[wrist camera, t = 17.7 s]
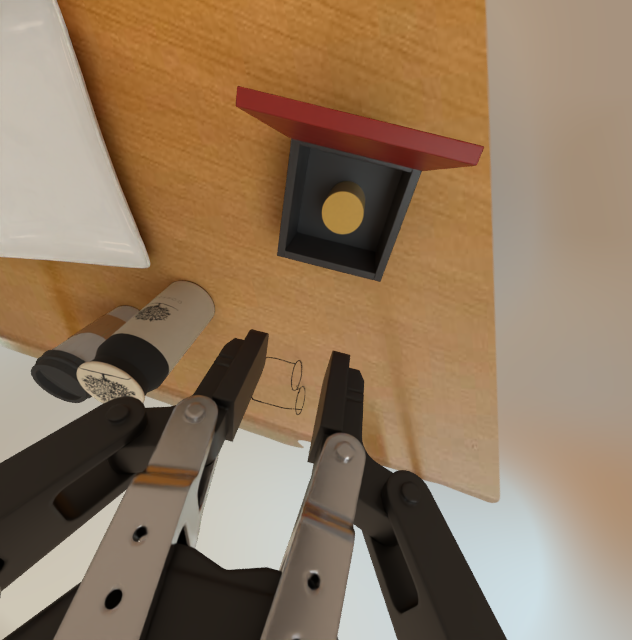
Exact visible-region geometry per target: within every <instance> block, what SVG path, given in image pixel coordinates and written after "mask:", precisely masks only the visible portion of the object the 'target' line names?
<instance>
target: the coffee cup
mask: <svg viewBox="0 0 632 640" xmlns="http://www.w3.org/2000/svg"><path fill="white" fill-rule="evenodd" d="M138 312H139V310H138V309H136V308H134V307H130V306H120V307H117V308H115V309H114V310H112V311H111V312H109V313H108V314H105V315H104V316H102V317H101V318H99V319H97V320H96V321H94V322H93V323H91V324H90V325H88V326H87V327H85V328H83V329H82V330H80V331H79V332H77V333H76V334H74V335H73V336H71V337H70V338H68V340H66V341H65V342H63V343H62V344H60V345H58V346H57V347H55V348H54V349H52V350H48V351H46V352H45V353H44V354H43V355H42V356H41V357H40V358H38V359H37V361H36V364H35V366H33V367H32V369H31V375H32V376H33V379H34V380H35V381H36V383H37V384H38V385H39V386H40V387H41V388H43V389H44V390H45V391H47V392H48V393H50V394H51V395H53V396H55V397H57V398H59V399H61V400H64V401H67V402H72V403H80V402H82V401H84V400H86V399H87V398H90V397H92V396H91V395H90V394H89V393H88V392H87V391H86V390H85V389H84V388H83V387H82V386H81V384H80V383H79V381H78V379H77V369H78V367H79V366H80V365H82V364H83V363H86V362H90V361H92V360H93V359H94V358H95V355H96V351H97V348H98V347H99V346H100V345H101V344H102V343H103V342H104V341H105V340H107V339H108V338H109V337H110V336H111V335H112V334H114V333H115V332H116V331H117V330H118V329H119V328H121V327H122V326H123V325H124V324H125V323H126V322H128V321H129V320H130V319H131V318H132V317H133V316H134V315H136V314H137V313H138Z"/></svg>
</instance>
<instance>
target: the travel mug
mask: <svg viewBox="0 0 632 640" xmlns="http://www.w3.org/2000/svg"><path fill="white" fill-rule="evenodd" d="M214 313H215V307H214V303H213V301H212V299H211V297H210V296H209V295H208V294H207V292H206V291H204V290H203V289H202V288H201V287H199V286H198V285H196V284H194V283H191V282H187V281H177V282H174V283H172V284H170V285H169V286H168V287H167V288H166V289H165V290H163V291H162V292H161V293H160V294H159V295H158V296H157V297H155V298H154V299H153V300H152V301H151V302H150V303H148V304H147V305H146V306H145V307H144V308H143V309H141V310H140V311H139V312H138V313H137V314H136V315H134V316H133V317H132V318H131V319H130V320H129V321H128V322H126V323H125V324H124V325H123V326H122V327H121V328H119V329H118V330H117V331H116V332H115V333H114V334H112V335H111V336H110V337H109V338H108V339H107V340H105V341H104V342H103V343H102V344H101V345H100V346H99V347H98V348H97V351H96V355H95V358H94V359H93V360H92V361H90V362H86V363H83V364H82V365H80V366H79V367H78V369H77V379H78V381H79V383H80V384H81V386H82V387H83V388H84V389H85V390H86V391H87V392H88V393H89V394H90V395H91V396H92V397H94V398H95V399H97V400H98V401H100V402H102V403H106V402H107V401H109V400H112V399H114V398H118V397H126V396H128V397H134V398H137V399H139V400H140V401H141V402H142V403H143V402H144V400H145V395H146V393H147V392H150V391H152V390H154V389H156V388H158V387H159V386H160V385H161V384H162V382H163V381H164V380H165V378H166V377H167V376H168V375H169V373H170V372H171V371H172V369H173V368H174V367H175V366H176V364H177V363H178V362H179V360H180V359H181V358H182V356H183V355H184V354H185V353H186V351H187V350H188V349H189V347H190V346H191V345H192V344H193V342H194V341H195V340H196V338H197V337H198V336H199V335H200V333H201V332H202V331H203V329H204V328H205V327H206V326H207V324H208V323H209V322H210V320H211V319H212V318H213V316H214Z"/></svg>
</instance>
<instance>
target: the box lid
mask: <svg viewBox="0 0 632 640" xmlns="http://www.w3.org/2000/svg"><path fill="white" fill-rule="evenodd" d="M236 107H238V108H240V109H241V110H243V111H245V112H246V113H248V114H250V115H252V116H253V117H255V118H257V119H258V120H260V121H262V122H264V123H265V124H267V125H269V126H270V127H272V128H274V129H275V130H277V131H279V132H281V133H282V134H284V135H286V136H287V137H289V138H291V139H295V140H299V141H303V142H307V143H311V144H315V145H319V146H323V147H327V148H331V149H335V150H339V151H343V152H348V153H352V154H356V155H360V156H364V157H368V158H372V159H376V160H380V161H384V162H388V163H392V164H396V165H400V166H404V167H408V168H412V169H416V170H420V171H428V170H437V169H447V168H457V167H467V166H476V165H477V163H478V161H479V158H480V156H481V154H482V151H483V149H484V147H483V146H480V145H476V144H472V143H468V142H464V141H460V140H456V139H452V138H448V137H444V136H440V135H436V134H432V133H427V132H423V131H419V130H415V129H411V128H407V127H403V126H399V125H395V124H391V123H387V122H383V121H379V120H375V119H370V118H366V117H362V116H358V115H354V114H350V113H346V112H342V111H338V110H334V109H330V108H326V107H322V106H317V105H313V104H309V103H305V102H301V101H297V100H293V99H289V98H285V97H281V96H277V95H273V94H269V93H265V92H260V91H256V90H252V89H248V88H244V87H240V86H237V96H236Z"/></svg>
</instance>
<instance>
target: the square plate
mask: <svg viewBox="0 0 632 640" xmlns="http://www.w3.org/2000/svg"><path fill="white" fill-rule="evenodd" d="M0 257H10V258H26V259H39V260H52V261H64V262H75V263H86V264H97V265H106V266H118V267H130V268H148V267H150V260H149V257H148V254H147V251H146V249H145V245H144V243H143V241H142V238H141V236H140V233H139V231H138V228H137V225H136V223H135V220H134V218H133V215H132V213H131V211H130V208H129V206H128V203H127V201H126V198H125V196H124V193H123V191H122V188H121V186H120V183H119V180H118V178H117V175H116V172H115V169H114V167H113V164H112V161H111V158H110V156H109V153H108V150H107V147H106V145H105V142H104V139H103V136H102V133H101V130H100V127H99V124H98V121H97V118H96V115H95V112H94V109H93V106H92V103H91V100H90V97H89V94H88V91H87V87H86V84H85V81H84V78H83V75H82V72H81V69H80V66H79V63H78V60H77V57H76V54H75V51H74V49H73V46H72V43H71V40H70V37H69V34H68V30H67V27H66V24H65V22H64V19H63V16H62V14H61V11H60V8H59V6H58V3H57V0H0Z"/></svg>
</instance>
